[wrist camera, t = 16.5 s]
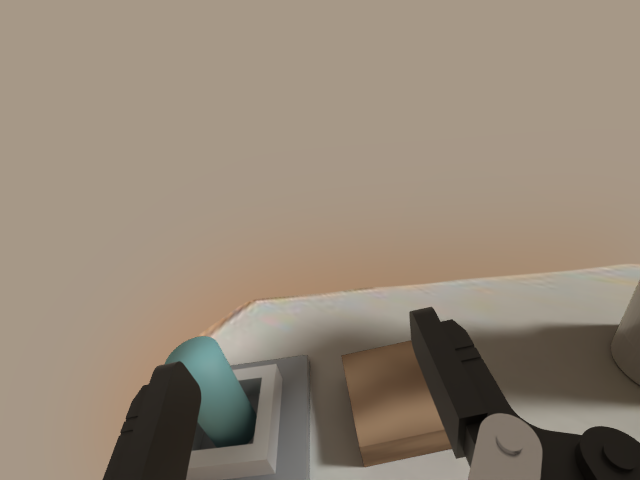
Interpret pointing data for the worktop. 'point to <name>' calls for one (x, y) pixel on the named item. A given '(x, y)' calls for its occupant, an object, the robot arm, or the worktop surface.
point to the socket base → (264, 427)
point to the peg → (217, 393)
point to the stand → (392, 405)
